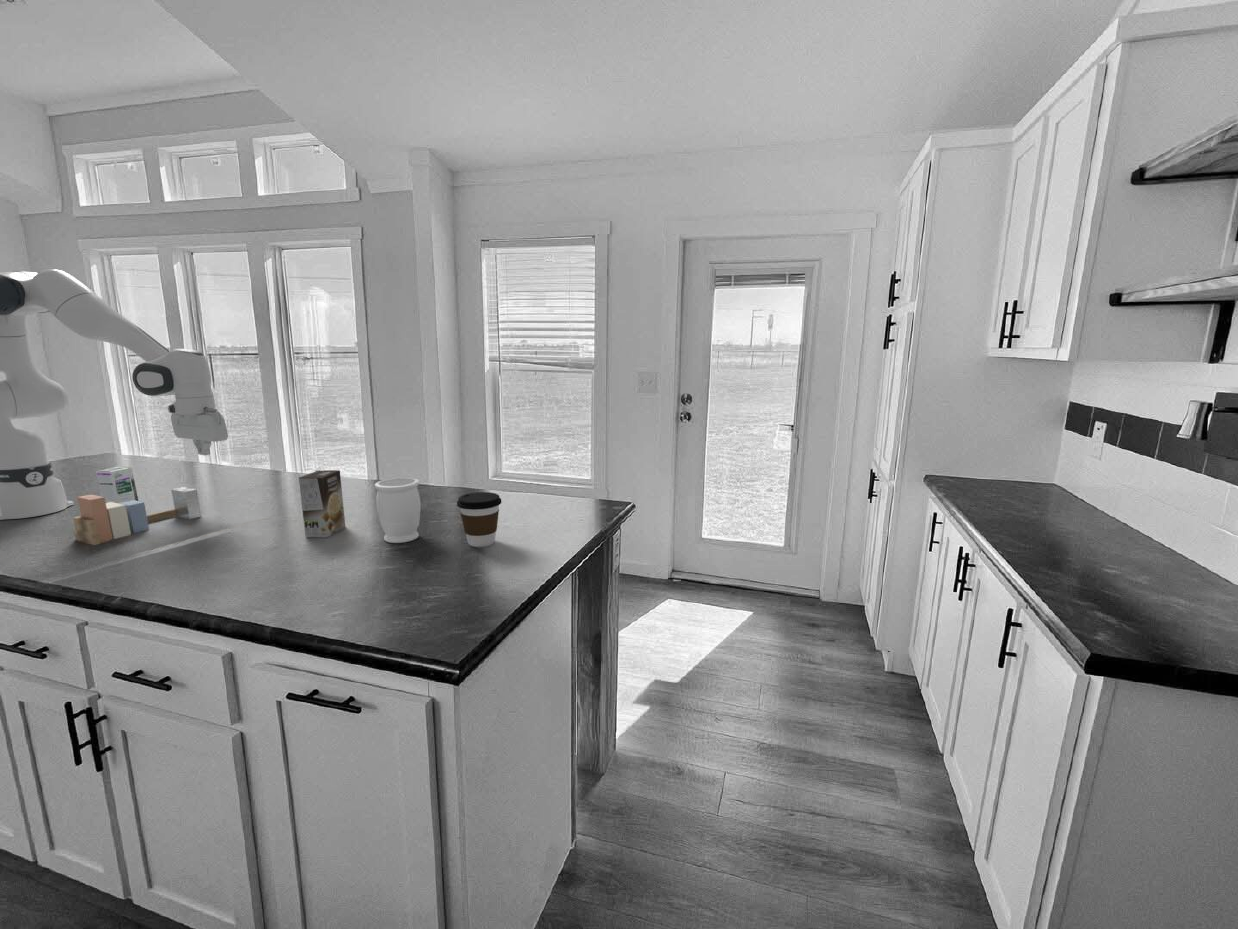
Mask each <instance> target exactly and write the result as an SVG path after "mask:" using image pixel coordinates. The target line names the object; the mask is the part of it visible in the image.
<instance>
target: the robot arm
mask: <svg viewBox="0 0 1238 929" xmlns="http://www.w3.org/2000/svg"><path fill="white" fill-rule="evenodd" d="M44 313H50V314H51V315H53V317H55V318H56V319H57V320H58V321H59V322H60V323H61V324H63V325H64V326H65V327H66V328H68V329H69V330H70V331H72V332H74V333H75V334H77V335H79V336H80V337H83V338H85V339H89V340H93V341H99V342H105V343H108V344H113V345H115V346H116V345H117V346H120V347H122V348H125V349H127V350H130V351H132V352H133V353H134V354H135V355H136V356H138V357H139V358H141V359H142V361H145V362H143V363H142V362H141V363H139V364H137V366H135V368H134V369H133V371H132V374H131V378H132V382H133V385H134V386H135V388H136V389H137V390H138V392H140V393H141V394H143V395H145V396H149V397H150V396H151V397H164V396H166V397H167V396H174V398H175V401H174V402H172V403H171V404H169V405H167V411H168V413H169V414H170V420H171V427H172V430H173V434H174V435H175V437H176V438H177V439H186V440H187V439H188V440H192V443H193V445H194V447H195V448H196V449H197V451H196V452H197V454H198V455H199V456H210V455H211V446H212V442H214V443H216V442H222V441H223V442H224V441H227V440H228V439H229V438H228V437H229V433H228V429H227V424H226V420H225V417H224V416H223V415H222V414H221V412H219V410H218V408H216V403H215V395H214V393H213V391H212V387H211V386H212V378H211V371H210V367H209V366H210V365H209V363H208V360H207V357H206V355H205V354H204V353H202V351H199V350H196V349H189V348H172V349H170V350H169V349H167V347H165V346H163V345H162V344H161V343H160V342H158V340H156V339H155V338H153V337H152V336H151V335H150V334H148V333H147V331H144V330H143V329H142V328H140V327H139V326H138V325H136V324H135V323H133V322H131V321H130V320H129V319H127V318H126V317H124V316H123V315H122V314H120V312H118V311H116V309H114V308H113V307H111V306H110V304H108V303H107V302H106V301H104V300H103V299H102V298H101V297H100V296H99V295H98V294H97V293H96V292H94V291H93V290H92V289H90V288H89V287H88V286H87V285H85V284H84V283H83V282H81V280H79V279H77V278H75V276H73V275H71V274H69V273H68V272H66V271H64V270H61V269H54V268H53V269H52V268H51V269H50V268H49V269H45V270H44V269H43V270H42V271H37V272H36V271H25V270H13V271H3V272H2V271H0V373H1V372H2V373H4V375H5V379H4V380H0V521H3V520H4V521H5V520H17V519H18V520H19V519H27V518H34V517H38V516H39V517H40V516H45V515H49V514H53V513H56V512H61V511H62V510H65V509H67V507H71V506H73V505H74V504H75V502H74V501H73V500H68V499H67V495H66V492H65V489H64V485H63V483H62V481H61V479H59V478H57V477H55V476H54V468H53V466H52V463H50V461H49V456H48V453H47V448H46V444H45V441H44V440H45V439H43V438H42V436H40V435H38V434H36V433H34V432H31V431H28V430H24V429H20V428H16V427H15V426H14V425H13V424H12V420H16V419H29V418H40V417H48V416H51V415H55V414H59V413H63V412H64V411H65V409H67V407H68V405H69V400H70V398H69V395H68V394H69V393H68V392H67V390H66V389H65V388H64V387H63V386H62V385H61V384H60V383H58V381H55V380H53V379H51V378H49V377H47V376H46V375H44V374H43V373H42V372H41V371H40V370H39V368H37V366H36V365H35V363H34V362H33V359H32V354H31V351H30V347H29V346H30V345H29V341H28V340H29V339H28V335H27V333H28V332H27V327H26V317H27V316H28V315H34V314H44Z"/></svg>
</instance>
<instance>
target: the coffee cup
mask: <svg viewBox="0 0 1238 929" xmlns="http://www.w3.org/2000/svg"><path fill="white" fill-rule="evenodd" d="M501 504H502V498H501V497H500V495H499V494H498V493H495V492H490V491H488V492H487V491H480V492H478V491H477V492H470V493H466V494H462V495H461V496H459V497H458V499H457V501H456V507H458V508H459V510H460V518H461V521H462V527H463V529H464V533H465V535H466V536H465V537H466V541H467V543H468V544H469V546H471V547H474V548H483V547H484V548H485V547H488V546H489V547H490V546H491V545H493V544H494V542H495V540H496V534H497V531H498V522H499V513H500V509H499V508H500V505H501Z"/></svg>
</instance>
